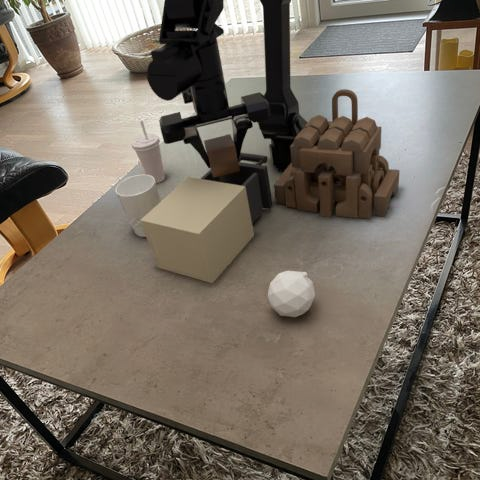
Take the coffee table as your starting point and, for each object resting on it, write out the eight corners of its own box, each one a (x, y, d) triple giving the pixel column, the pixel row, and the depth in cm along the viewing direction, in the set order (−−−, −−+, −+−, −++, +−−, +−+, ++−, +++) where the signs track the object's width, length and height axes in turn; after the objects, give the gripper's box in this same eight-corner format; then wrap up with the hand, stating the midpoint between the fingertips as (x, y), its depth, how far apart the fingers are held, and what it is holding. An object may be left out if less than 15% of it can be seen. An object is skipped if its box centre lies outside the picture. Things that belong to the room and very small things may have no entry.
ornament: (274, 291, 80) (300, 254, 76) (306, 321, 78) (334, 284, 74) (250, 299, 75) (276, 259, 71) (283, 332, 73) (312, 293, 68)
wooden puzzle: (271, 209, 98) (258, 118, 85) (299, 172, 106) (291, 84, 93) (380, 224, 88) (385, 124, 75) (402, 182, 97) (409, 85, 84)
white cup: (139, 244, 97) (122, 201, 90) (127, 226, 102) (110, 184, 95) (174, 228, 99) (160, 185, 92) (161, 212, 104) (147, 169, 97)
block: (234, 159, 92) (230, 133, 89) (239, 171, 88) (235, 145, 85) (209, 165, 92) (203, 140, 88) (213, 177, 88) (207, 152, 85)
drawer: (237, 185, 105) (229, 147, 99) (283, 193, 99) (279, 153, 93) (188, 234, 95) (177, 194, 89) (237, 245, 90) (229, 204, 83)
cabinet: (201, 223, 98) (188, 176, 91) (254, 235, 93) (245, 186, 85) (157, 267, 91) (139, 220, 83) (212, 283, 85) (198, 233, 77)
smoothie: (165, 185, 112) (147, 126, 102) (140, 186, 114) (120, 129, 104) (173, 171, 116) (157, 113, 106) (149, 172, 118) (130, 115, 108)
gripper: (251, 47, 85) (262, 134, 95) (146, 73, 84) (170, 156, 95) (265, 66, 77) (276, 158, 87) (150, 94, 76) (175, 183, 87)
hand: (223, 163), depth 90 cm, fingers closed on block, 5 cm apart
